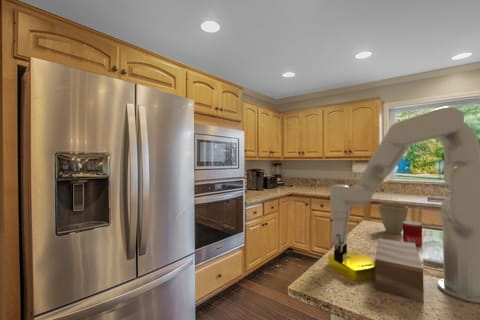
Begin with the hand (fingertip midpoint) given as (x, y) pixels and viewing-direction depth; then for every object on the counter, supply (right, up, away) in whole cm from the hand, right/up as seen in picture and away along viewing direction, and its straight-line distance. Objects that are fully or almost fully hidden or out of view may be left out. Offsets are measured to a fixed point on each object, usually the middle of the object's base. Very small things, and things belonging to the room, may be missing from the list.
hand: (340, 256), depth 93 cm
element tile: (+4, -5, -3) cm, 7 cm away
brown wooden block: (+16, -4, -10) cm, 19 cm away
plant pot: (+51, -4, +43) cm, 67 cm away
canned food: (+48, -4, +24) cm, 53 cm away
